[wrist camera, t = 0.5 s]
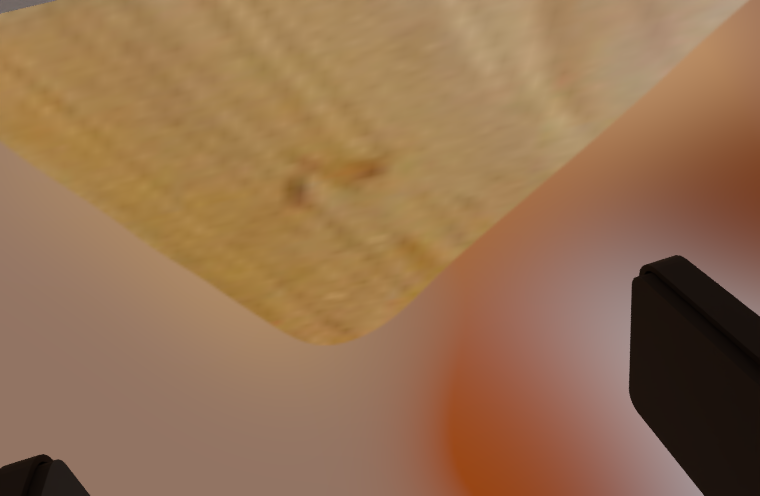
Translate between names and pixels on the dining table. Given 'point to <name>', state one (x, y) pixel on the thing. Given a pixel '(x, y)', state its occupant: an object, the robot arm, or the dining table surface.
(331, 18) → the dining table surface
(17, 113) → the dining table surface
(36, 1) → the socket stand
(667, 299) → the robot arm
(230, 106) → the dining table surface
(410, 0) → the dining table surface
